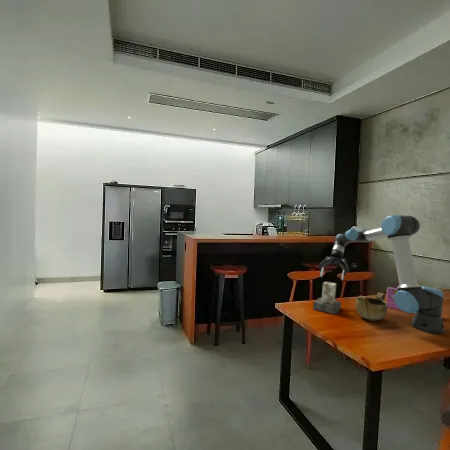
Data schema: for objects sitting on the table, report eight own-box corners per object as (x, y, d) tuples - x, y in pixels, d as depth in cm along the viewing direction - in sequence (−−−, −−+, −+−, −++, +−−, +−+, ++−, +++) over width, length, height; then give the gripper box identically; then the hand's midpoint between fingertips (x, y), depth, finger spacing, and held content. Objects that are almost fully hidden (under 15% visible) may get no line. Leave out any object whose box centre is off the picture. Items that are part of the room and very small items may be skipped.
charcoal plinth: (340, 309, 194) (341, 301, 194) (335, 315, 182) (336, 307, 182) (319, 304, 202) (319, 297, 201) (312, 309, 190) (313, 302, 190)
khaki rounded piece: (372, 327, 164) (374, 300, 163) (345, 316, 179) (347, 292, 178) (394, 320, 176) (396, 295, 175) (367, 311, 191) (369, 288, 190)
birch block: (334, 301, 193) (336, 283, 193) (332, 304, 187) (334, 285, 187) (323, 299, 197) (325, 281, 196) (321, 301, 191) (322, 283, 190)
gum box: (383, 306, 203) (385, 287, 202) (387, 304, 208) (389, 285, 207) (425, 316, 186) (427, 295, 185) (427, 314, 191) (429, 293, 191)
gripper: (356, 258, 206) (351, 283, 194) (320, 254, 219) (313, 277, 207) (356, 251, 201) (350, 277, 189) (318, 247, 214) (311, 271, 202)
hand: (331, 277), depth 198 cm, fingers open, 13 cm apart
